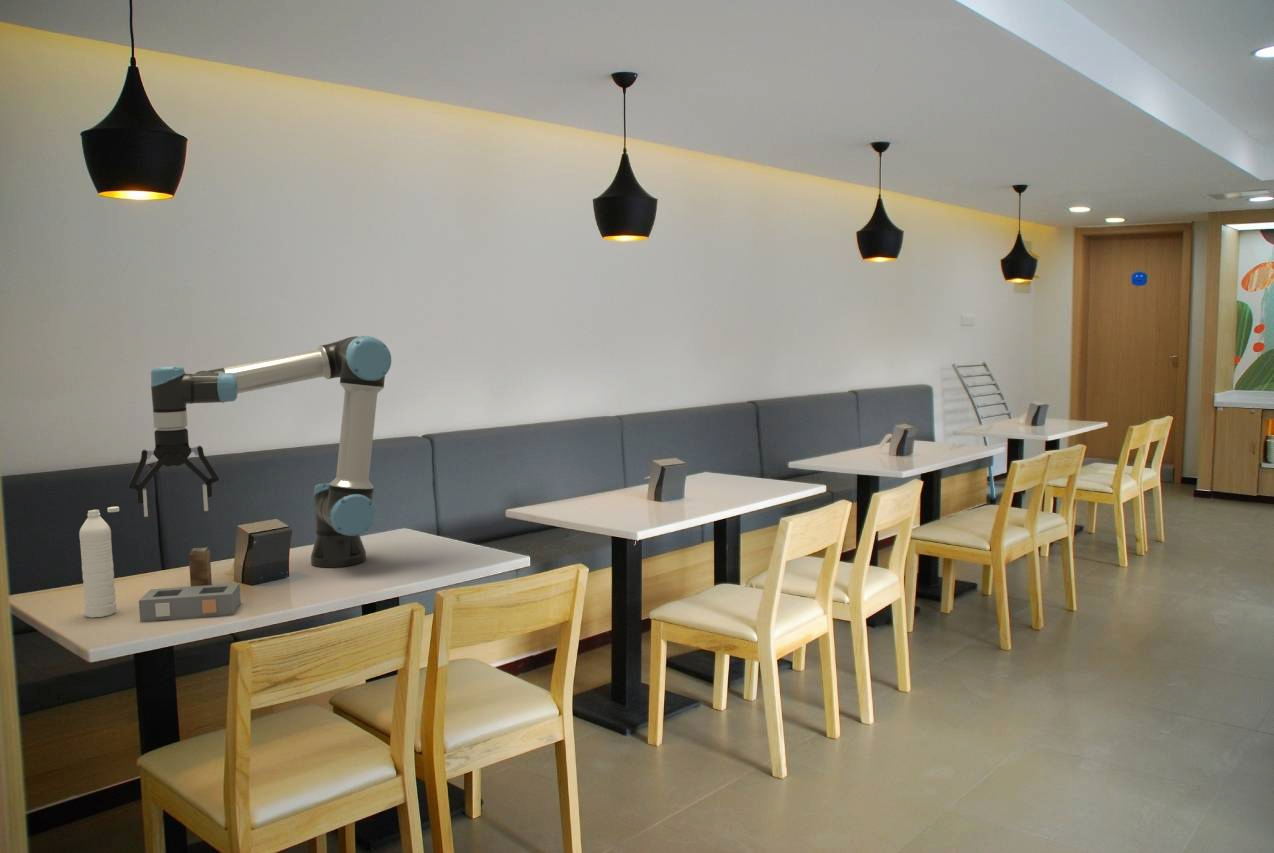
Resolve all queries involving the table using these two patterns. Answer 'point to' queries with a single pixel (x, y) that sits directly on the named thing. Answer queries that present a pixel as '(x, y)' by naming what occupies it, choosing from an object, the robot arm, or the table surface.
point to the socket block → (189, 602)
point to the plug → (200, 567)
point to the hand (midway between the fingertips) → (176, 513)
